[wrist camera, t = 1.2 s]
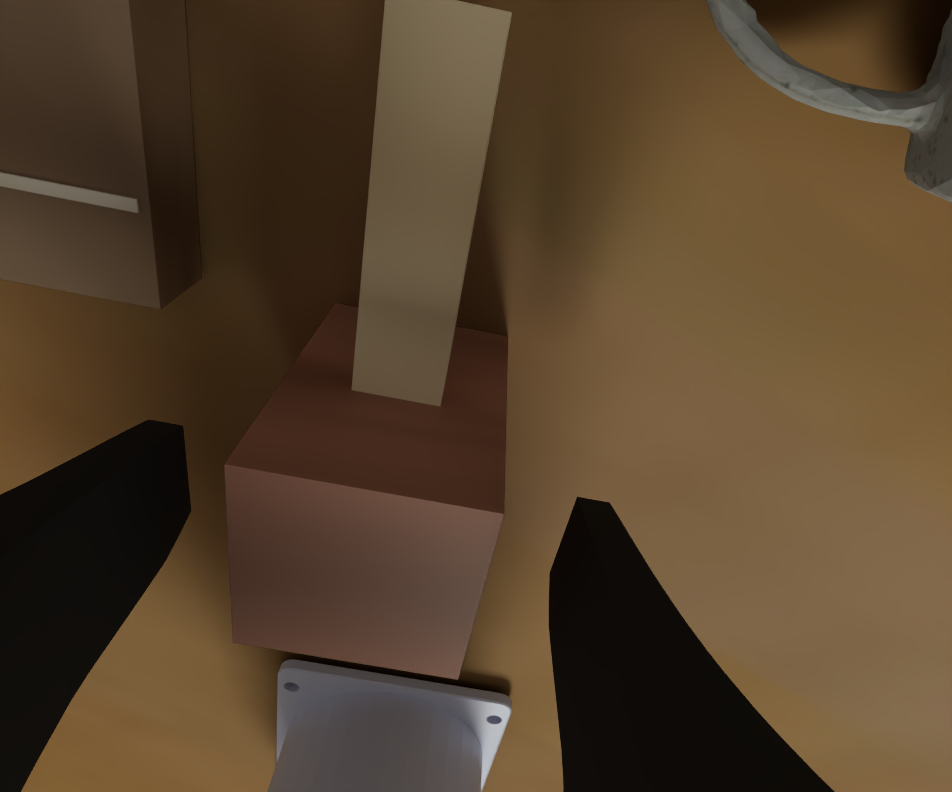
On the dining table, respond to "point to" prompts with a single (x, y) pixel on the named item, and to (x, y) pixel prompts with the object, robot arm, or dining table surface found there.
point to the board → (97, 149)
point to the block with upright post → (388, 393)
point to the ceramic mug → (856, 93)
